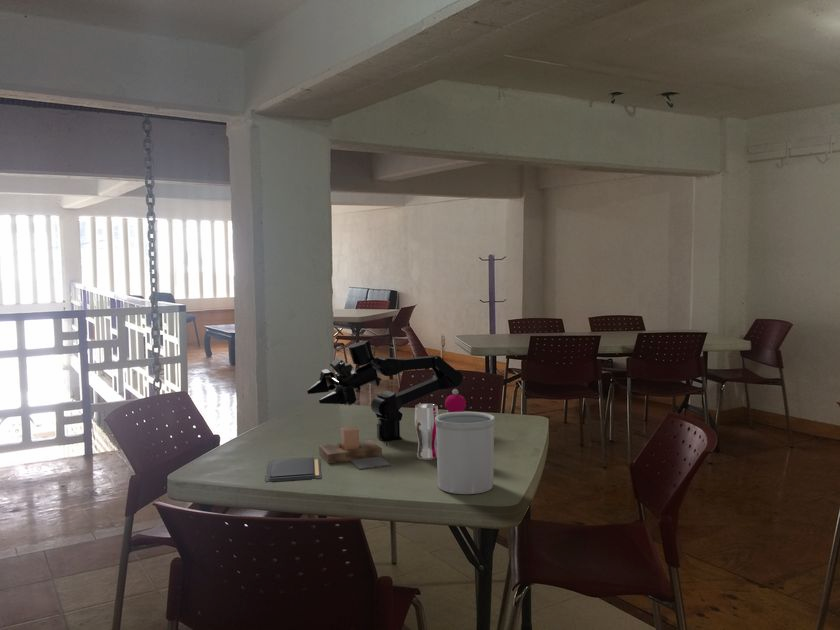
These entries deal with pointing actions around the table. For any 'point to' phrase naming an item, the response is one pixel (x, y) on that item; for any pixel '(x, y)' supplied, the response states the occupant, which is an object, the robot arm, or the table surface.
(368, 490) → the table surface
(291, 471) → the dark blue flat slab
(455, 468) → the utensil holder
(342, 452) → the pocket board
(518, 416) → the table surface
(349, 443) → the block
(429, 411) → the beer glass
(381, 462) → the pad
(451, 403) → the pepper mill
